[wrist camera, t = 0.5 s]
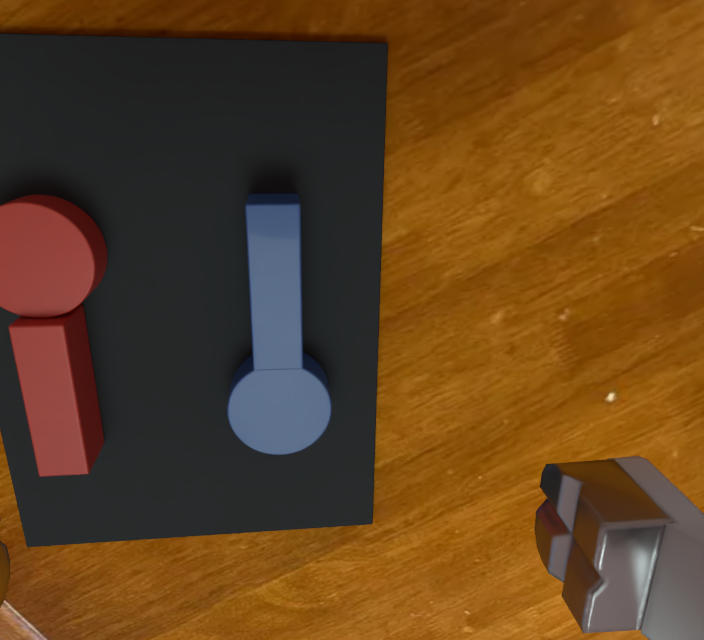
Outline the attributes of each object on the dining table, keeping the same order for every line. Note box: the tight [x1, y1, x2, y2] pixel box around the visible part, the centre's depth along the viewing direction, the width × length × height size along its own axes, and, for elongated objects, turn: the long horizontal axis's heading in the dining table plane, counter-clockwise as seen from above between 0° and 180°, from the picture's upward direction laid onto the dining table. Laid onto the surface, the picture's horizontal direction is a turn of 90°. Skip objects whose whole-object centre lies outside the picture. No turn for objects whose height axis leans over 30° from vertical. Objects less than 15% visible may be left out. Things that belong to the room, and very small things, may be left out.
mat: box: [0, 33, 388, 547], centre depth 23 cm, size 20×15×1 cm
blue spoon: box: [227, 194, 332, 455], centre depth 22 cm, size 10×4×2 cm, turn 179°
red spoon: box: [0, 194, 107, 477], centre depth 21 cm, size 10×4×2 cm, turn 179°
